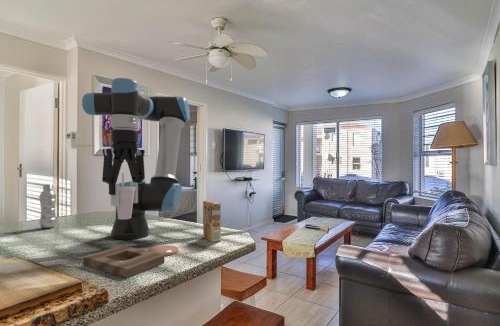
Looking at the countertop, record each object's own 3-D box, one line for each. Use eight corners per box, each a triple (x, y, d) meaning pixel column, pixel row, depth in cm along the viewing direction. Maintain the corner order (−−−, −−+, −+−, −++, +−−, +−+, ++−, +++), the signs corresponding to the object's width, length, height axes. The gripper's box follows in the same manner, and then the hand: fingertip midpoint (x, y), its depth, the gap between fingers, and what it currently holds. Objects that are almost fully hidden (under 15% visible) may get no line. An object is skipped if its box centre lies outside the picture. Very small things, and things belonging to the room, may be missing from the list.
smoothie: (117, 216, 97) (117, 172, 97) (138, 216, 97) (138, 172, 97) (110, 220, 90) (110, 173, 90) (132, 220, 91) (132, 173, 91)
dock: (83, 264, 93) (83, 256, 93) (122, 252, 105) (122, 245, 105) (126, 278, 83) (126, 268, 83) (164, 262, 95) (164, 255, 95)
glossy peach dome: (139, 253, 105) (139, 251, 105) (162, 245, 114) (162, 243, 114) (162, 258, 99) (162, 256, 99) (185, 250, 109) (185, 248, 109)
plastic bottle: (59, 227, 141) (59, 184, 141) (43, 230, 135) (43, 185, 135) (52, 225, 145) (52, 184, 144) (36, 228, 139) (36, 185, 138)
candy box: (221, 241, 121) (221, 202, 121) (211, 242, 118) (212, 203, 118) (211, 236, 128) (211, 200, 128) (202, 237, 126) (202, 200, 126)
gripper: (104, 126, 83) (104, 209, 84) (157, 131, 100) (156, 201, 100) (87, 127, 87) (87, 207, 87) (141, 132, 104) (141, 199, 104)
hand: (124, 203), depth 94 cm, fingers closed on smoothie, 6 cm apart
